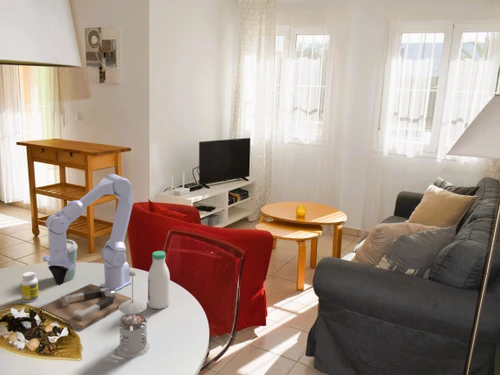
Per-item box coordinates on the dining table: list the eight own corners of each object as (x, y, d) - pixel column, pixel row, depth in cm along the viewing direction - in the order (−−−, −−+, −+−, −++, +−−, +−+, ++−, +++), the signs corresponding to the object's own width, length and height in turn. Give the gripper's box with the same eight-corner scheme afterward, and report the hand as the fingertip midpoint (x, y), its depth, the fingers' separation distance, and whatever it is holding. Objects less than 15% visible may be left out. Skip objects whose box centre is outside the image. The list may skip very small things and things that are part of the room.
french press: (118, 360, 121) (116, 280, 115) (114, 338, 131) (112, 264, 126) (152, 353, 125) (152, 275, 119) (146, 332, 135) (145, 260, 130)
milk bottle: (173, 302, 155) (174, 251, 151) (161, 311, 148) (161, 258, 144) (156, 297, 158) (156, 247, 154) (143, 306, 152) (143, 254, 147)
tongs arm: (112, 291, 158) (112, 285, 157) (117, 298, 153) (116, 292, 152) (60, 302, 148) (60, 295, 148) (63, 310, 143) (63, 303, 143)
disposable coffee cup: (83, 278, 170) (82, 243, 167) (56, 286, 163) (54, 250, 159) (72, 270, 177) (71, 236, 174) (46, 277, 170) (43, 242, 166)
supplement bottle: (31, 303, 150) (30, 278, 147) (18, 301, 151) (16, 276, 148) (42, 296, 155) (40, 271, 153) (29, 294, 156) (27, 269, 154)
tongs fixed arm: (105, 300, 151) (105, 295, 151) (113, 303, 149) (113, 298, 149) (74, 317, 139) (73, 311, 139) (82, 321, 138) (82, 314, 137)
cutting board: (90, 287, 164) (90, 283, 163) (131, 301, 154) (131, 298, 154) (39, 311, 145) (39, 307, 144) (82, 329, 135) (82, 325, 135)
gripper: (34, 247, 148) (36, 282, 151) (62, 256, 141) (64, 293, 144) (51, 241, 154) (53, 275, 157) (79, 250, 147) (81, 285, 150)
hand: (59, 283), depth 151 cm, fingers closed
